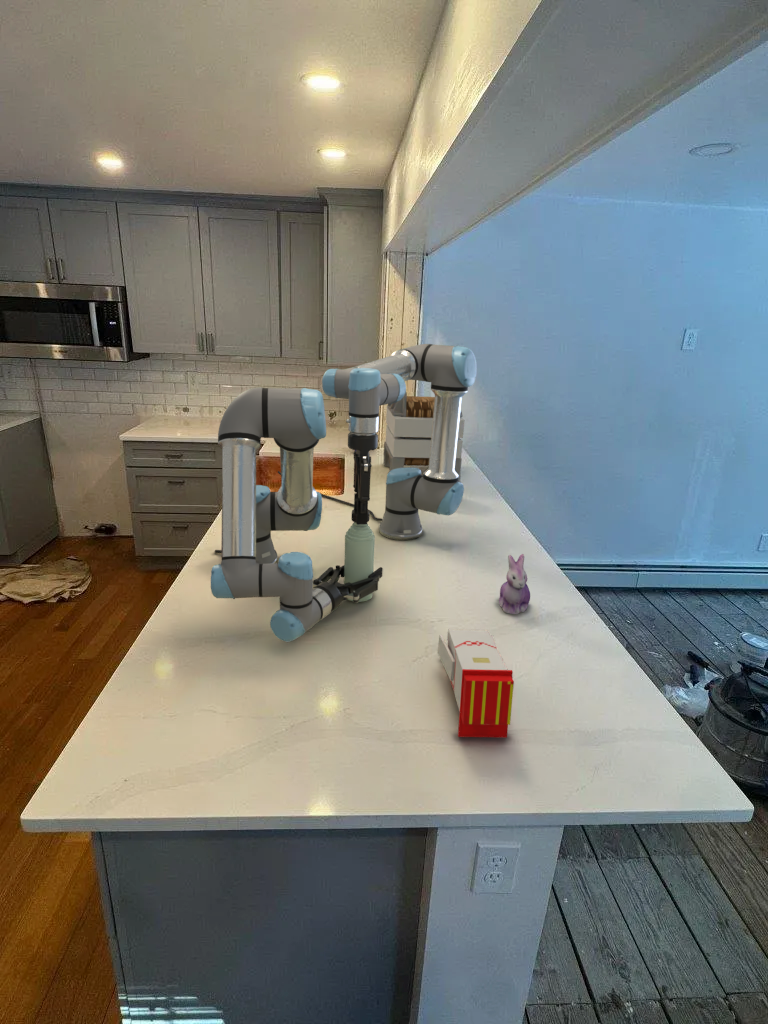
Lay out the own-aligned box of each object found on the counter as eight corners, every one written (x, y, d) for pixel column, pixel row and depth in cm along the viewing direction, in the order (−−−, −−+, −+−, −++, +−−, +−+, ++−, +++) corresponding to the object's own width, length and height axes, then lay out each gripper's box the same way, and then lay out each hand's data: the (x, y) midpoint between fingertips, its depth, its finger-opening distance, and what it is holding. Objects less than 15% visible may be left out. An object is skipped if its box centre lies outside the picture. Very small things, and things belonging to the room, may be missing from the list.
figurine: (512, 619, 147) (519, 566, 142) (488, 601, 156) (494, 551, 151) (540, 611, 151) (548, 560, 146) (515, 594, 160) (522, 546, 155)
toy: (488, 613, 130) (523, 677, 101) (484, 667, 133) (517, 744, 104) (435, 612, 130) (455, 676, 101) (432, 666, 133) (451, 743, 103)
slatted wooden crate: (382, 463, 289) (386, 382, 275) (445, 464, 293) (451, 384, 279) (390, 482, 257) (394, 392, 243) (460, 483, 261) (468, 394, 247)
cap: (355, 515, 152) (355, 507, 151) (371, 518, 150) (372, 509, 150) (348, 521, 147) (349, 512, 147) (365, 524, 146) (366, 515, 145)
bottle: (377, 598, 155) (380, 516, 147) (350, 604, 151) (352, 520, 143) (365, 586, 161) (368, 506, 153) (339, 591, 158) (340, 510, 150)
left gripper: (287, 603, 145) (336, 571, 164) (356, 626, 136) (400, 589, 155) (286, 576, 143) (336, 547, 162) (357, 599, 133) (401, 564, 152)
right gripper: (344, 425, 148) (342, 509, 156) (352, 440, 132) (350, 533, 140) (372, 425, 150) (369, 508, 158) (384, 440, 134) (380, 532, 141)
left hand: (367, 568), depth 158 cm, fingers closed on bottle, 8 cm apart
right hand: (360, 520), depth 149 cm, fingers closed on cap, 4 cm apart
